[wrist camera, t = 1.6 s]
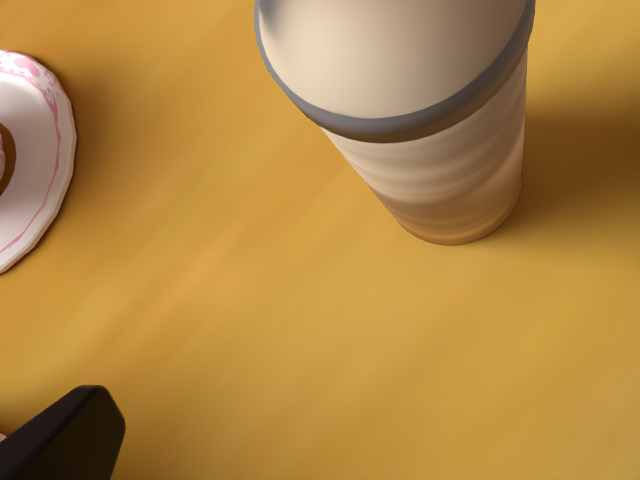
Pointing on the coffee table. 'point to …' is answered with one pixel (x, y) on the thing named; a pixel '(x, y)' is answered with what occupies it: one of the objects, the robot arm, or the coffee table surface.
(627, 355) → the coffee table surface
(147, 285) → the coffee table surface
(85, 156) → the coffee table surface
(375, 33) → the lidded tumbler
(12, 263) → the teacup
